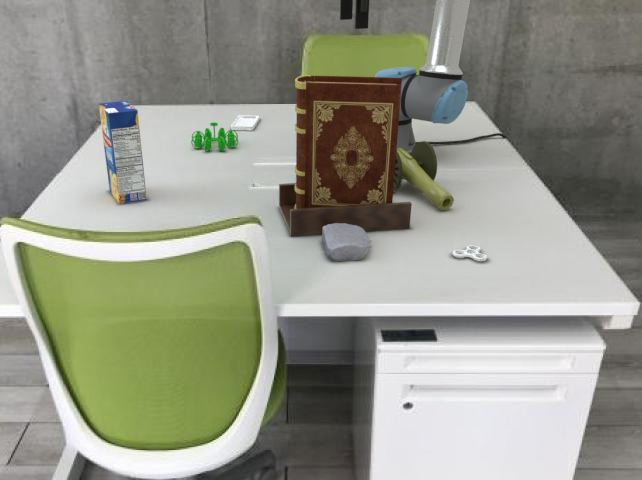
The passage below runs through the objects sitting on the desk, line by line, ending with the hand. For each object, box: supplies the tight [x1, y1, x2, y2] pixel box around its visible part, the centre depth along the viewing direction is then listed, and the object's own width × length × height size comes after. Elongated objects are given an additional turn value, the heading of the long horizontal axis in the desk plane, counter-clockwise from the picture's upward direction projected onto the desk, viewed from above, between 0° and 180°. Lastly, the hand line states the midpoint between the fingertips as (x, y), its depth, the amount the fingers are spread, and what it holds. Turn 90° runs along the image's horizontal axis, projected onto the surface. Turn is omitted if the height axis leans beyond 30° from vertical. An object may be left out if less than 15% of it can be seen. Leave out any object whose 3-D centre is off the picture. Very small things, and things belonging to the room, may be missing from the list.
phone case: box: [230, 114, 261, 131], centre depth 242 cm, size 7×1×15 cm
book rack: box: [278, 182, 413, 237], centre depth 167 cm, size 27×18×6 cm, turn 98°
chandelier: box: [190, 122, 239, 153], centre depth 219 cm, size 15×15×7 cm
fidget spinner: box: [451, 244, 488, 262], centre depth 150 cm, size 7×6×1 cm
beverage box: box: [98, 100, 148, 205], centre depth 178 cm, size 7×11×22 cm, turn 24°
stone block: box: [321, 223, 371, 262], centre depth 152 cm, size 12×5×10 cm
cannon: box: [393, 140, 455, 211], centre depth 179 cm, size 25×12×11 cm, turn 23°
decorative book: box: [294, 74, 402, 209], centre depth 161 cm, size 22×8×30 cm, turn 79°
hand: (353, 23), depth 161 cm, fingers open, 13 cm apart
